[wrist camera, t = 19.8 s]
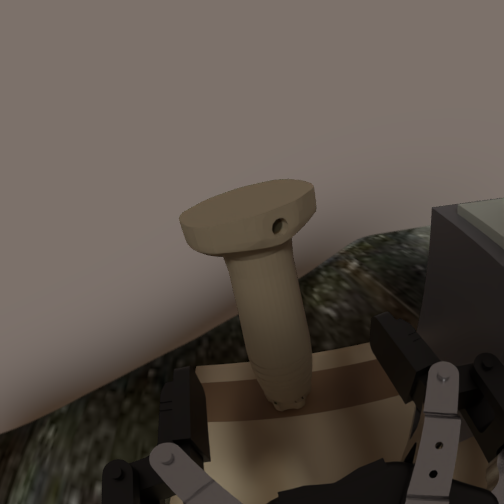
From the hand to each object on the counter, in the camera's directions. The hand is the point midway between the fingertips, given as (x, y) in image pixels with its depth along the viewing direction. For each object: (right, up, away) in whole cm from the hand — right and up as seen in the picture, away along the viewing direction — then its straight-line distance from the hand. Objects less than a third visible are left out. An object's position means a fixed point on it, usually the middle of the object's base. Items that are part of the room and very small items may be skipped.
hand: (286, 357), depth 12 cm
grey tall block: (+14, -6, +4) cm, 15 cm away
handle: (+1, -7, +8) cm, 11 cm away
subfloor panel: (+5, -9, +3) cm, 11 cm away
